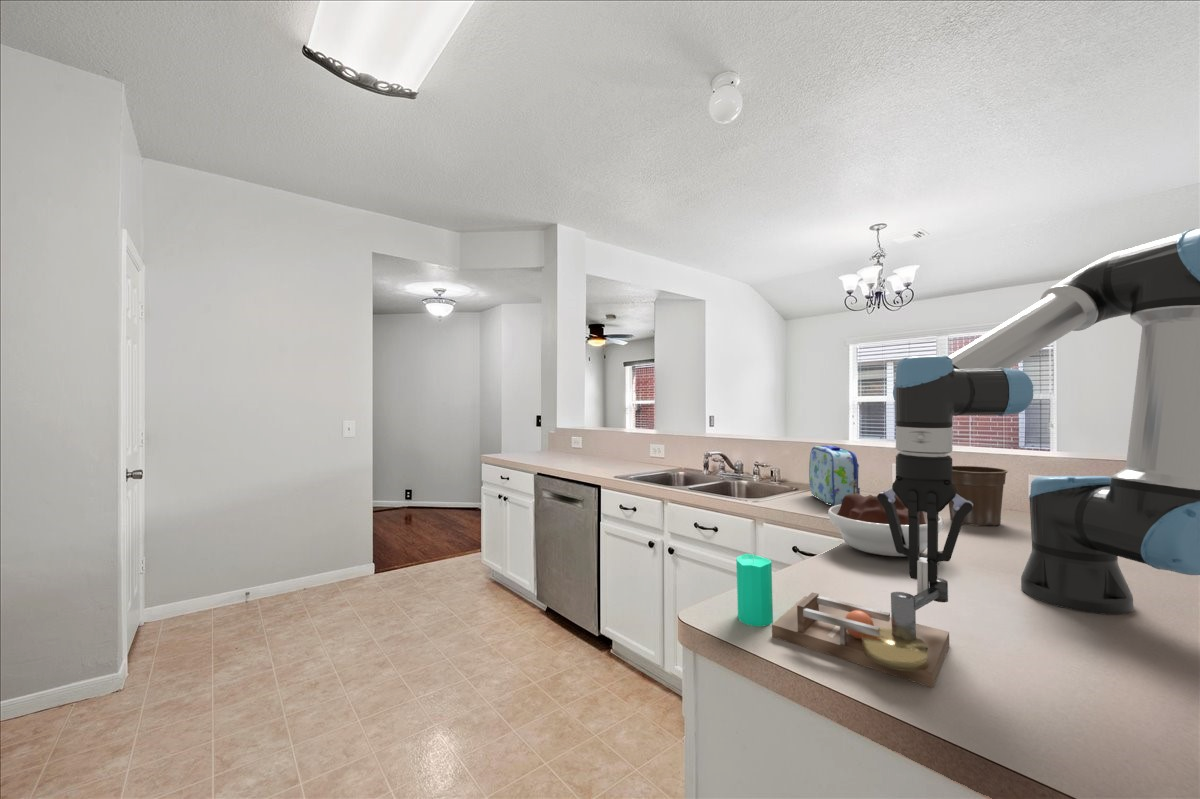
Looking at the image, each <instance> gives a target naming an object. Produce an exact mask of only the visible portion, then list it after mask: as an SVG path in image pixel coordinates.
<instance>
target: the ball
mask: <svg viewBox="0 0 1200 799" xmlns="http://www.w3.org/2000/svg"><path fill="white" fill-rule="evenodd" d="M845 619H849V620H853V621H857V622H861V623H864V624H868V625H872V626H874V624H873V621H872V619H871V618H870V617H869V615H867V614H866V613H864V612H862V611H858V610H855V611H851V612H849V613H848V614H847V615H846V617H845ZM846 629H847V628H846ZM847 631H848V632H849V633H850V634H851V635H852V636H853V637H855V638H858V639H862V632H858V631H854V630H851V629H847Z"/></svg>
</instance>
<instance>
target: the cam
mask: <svg viewBox="0 0 1200 799" xmlns="http://www.w3.org/2000/svg"><path fill="white" fill-rule="evenodd" d="M948 588H949V586H948V580H946V579H944V578H941V577H940V578H939V577H938V578H937V581H936V582H935V583H932V582H929V588H928V589H926V590H924V591H922V592H920V593H918V594H917V593H916V594H915V595H913V594H910V593H907V592H902V591H892V592H891V593H890V612H891V613H890V617H891V623H892V629H885V628H880V635H879V636H878V637H876V636H873V635H869V634H865V633H862V651H863V653H864V655H865V656H866V657H867V658H869V659H870V660H872V661H873V662H875V663H877V664H880V665H882V666H885V667H888V668H891V669H896V670H901V671H919V670H923V669H925V668H926V667H927V666H928V647H927V645H926V644H925V643H924V642H923V641H922V640H920V639H919V638H917V637H916V624H917V622H916V621H917V620H916V611H917V610H918V611H919V609H921V608H923V607H924V606H925V605H928V604H929V603H932V602H933V601H934V602H938V603H948V602H949V589H948Z"/></svg>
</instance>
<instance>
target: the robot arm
mask: <svg viewBox="0 0 1200 799" xmlns="http://www.w3.org/2000/svg"><path fill="white" fill-rule="evenodd" d="M1128 315H1130V316H1129V317H1130V319H1131V320H1132V321H1133V322H1135V323H1137V324H1139V325H1140V327H1141V334H1140V336H1141V337H1140V345H1139V353H1138V360H1137V369H1136V377H1135V384H1134V385H1135V387H1134V395H1133V402H1132V404H1133V405H1132V410H1131V411H1132V412H1131V421H1130V428H1129V429H1130V430H1129V437H1128V438H1129V439H1128V446H1127V452H1126V453H1127V454H1126V462H1125V467H1124V468H1123V469H1121V470H1120V471H1118V472H1117V473H1115V474H1112V475H1111V476H1107V475H1044V476H1037V477H1035V478H1033V480H1032V481H1030V482H1031V483H1030V491H1029V492H1030V494H1029V496H1028V498H1029V510H1030V511H1029V513H1030V532H1031V533H1030V534H1031V552H1030V554H1029V557H1028V559H1027V561H1026V564H1025V567H1024V568H1023V571H1022V573H1021V577H1020V583H1021V584H1020V588H1021V590H1022V592H1024V593H1025V594H1026V595H1028V596H1030V597H1032V598H1034V599H1036V600H1038V601H1041V602H1044V603H1046V604H1050V605H1053V606H1057V607H1061V608H1065V609H1069V610H1072V611H1073V610H1074V611H1078V612H1079V611H1080V612H1085V613H1091V614H1092V613H1093V614H1099V615H1100V614H1101V615H1102V614H1103V615H1124V614H1129V613H1131V612H1133V610H1134V597H1133V594H1132V592H1131V590H1130V587H1129V584H1128V583H1127V581H1126V579H1125V576H1124V574H1123V571H1122V570H1121V568H1120V566H1119V560H1118V557H1120V558H1123V559H1127V560H1129V561H1134V562H1138V563H1139V564H1140V563H1141V564H1144V565H1148V566H1149V567H1151V568H1153V569H1157V570H1163V571H1169V572H1172V573H1176V574H1182V575H1187V576H1200V228H1193V229H1188V230H1185V231H1184V232H1182V233H1178V234H1175V235H1172V236H1171V235H1170V236H1168V237H1164V238H1161V239H1157V240H1153V241H1150V242H1147V243H1143V244H1139V245H1136V246H1133V247H1128V248H1124V249H1122V250H1121V249H1120V250H1118V251H1115V252H1112V253H1110V254H1109V253H1108V254H1107V255H1105V256H1103V257H1102V258H1099V259H1097V260H1095V261H1093V262H1091V263H1089V264H1088V265H1086V266H1084V267H1082V268H1081V269H1080V270H1078V271H1076V272H1074V273H1072V274H1071V275H1069V276H1067V277H1066V278H1064V279H1063V280H1061V281H1059V282H1057V283H1056V284H1054V285H1053V286H1051V287H1049V288H1048V289H1046V290H1045V291H1044V292H1043V293H1042V294H1041V297H1040V300H1039V301H1037V302H1035V303H1034V304H1032V305H1031V306H1029V307H1028V308H1025V309H1024V310H1022V311H1021V312H1019V313H1018V314H1016V315H1014V316H1013V317H1011V318H1009V319H1008V320H1006V321H1005V322H1003V323H1001V324H1000V325H998V326H996V327H995V328H993V329H992V330H989V331H988V332H987V333H985V334H983V335H981V336H979V337H978V338H977V339H975V340H974V341H973V340H972V342H970V343H969V344H967V345H965V346H964V347H962V348H960V349H959V350H956V351H955V352H954V353H952V354H950V355H920V356H919V355H918V356H907V357H903V358H901V359H899V361H897V363H896V368H895V369H896V370H895V380H894V381H895V382H894V386H893V390H892V396H893V400H894V402H895V449H896V450H897V451H899V452H898V453H896V455H895V479H894V481H893V483H892V484H891V485H892V486H891V488H889V489H887V490H884V491H881V492H879V493H877V495H876V496H877V498H878V500H879V501H880V503H881V504H882V505H883V507H884V509H885V512H886V516H887V519H888V523H889V527H890V530H891V534H892V537H893V541H894V545H895V548H896V551H897V552H898V553H900V554H904V555H906V556H905V557H907V558H908V561H909V562H908V564H909V565H908V570H909V572H908V576H909V578H910V579H912V580H917V582H916V584H917V587H916V588H917V590H916V592H917V593H916V595H917V594H918V593H920V592H922V591H924V590H926V589H928V588H929V582H932V583H935V582H936V581H937V578H939V577H938V572H939V571H938V570H939V568H938V566H939V565H938V564H939V563H941V562H951V558H952V555H953V553H954V550H955V546H956V544H957V541H958V537H959V534H960V531H961V529H962V526H963V523H962V522H963V519H964V517H965V516H966V515H967V514H968V513H969V512H970V511H971V510H972V508H973V502H972V501H970V500H965V499H964V498H962V497H961V496H959V495H958V494H956V489H955V487H954V486H953V483H952V466H953V458H952V457H951V455H948V454H950V453H952V452H953V421H954V420H953V419H954V416H955V417H957V416H999V417H1003V416H1005V415H1006V416H1007V415H1008V416H1009V415H1018V414H1020V413H1023V412H1024V411H1025V410H1027V408H1029V406H1031V403H1032V402H1033V399H1034V384H1033V382H1032V380H1031V378H1030V377H1029V375H1028V374H1027V373H1026V372H1024V371H1022V370H1020V369H1017V368H1013V367H1014V366H1016V365H1018V364H1019V363H1021V362H1023V361H1024V360H1026V359H1028V358H1030V357H1032V355H1035V354H1036V353H1037V352H1039V351H1041V350H1043V349H1044V348H1046V347H1048V346H1049V345H1051V344H1052V343H1054V342H1056V341H1057V340H1060V339H1061V338H1062V337H1064V336H1065V335H1068V334H1069V333H1071V332H1079V331H1083V330H1086V329H1089V328H1090V327H1092V326H1094V325H1095V324H1097V323H1099V322H1102V321H1105V320H1108V319H1113V318H1117V317H1122V316H1128ZM895 494H896V495H897V496H898V498H899V499H900V500H901V502H902V503H903V504H904V505H905V507H906V508H908V517H909V546H907V545H906V542H905V539H904V535H903V532H902V528H901V524H900V521H899V517H898V514H897V510H896V507H895V504H894V502H895V500H896V498H895ZM951 500H953V501H954V505H953V508H954V510H956V512H955V515H954V518H953V520H951V521H952V522H951V524H950V527H949V531H948V534H947V537H946V540H945V544H944V547H943V548H942V550H939V534H938V515H939V513H940V512H942V511H943V509H945V508H946V507H947V506H948V505H949V502H950V501H951ZM920 511H923V512H926V513H927V548H926V550H927V551H926V552H927V553H926V557H923V556H920V554H921V553H920V530H919V515H920Z"/></svg>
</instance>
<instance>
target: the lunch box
mask: <svg viewBox="0 0 1200 799" xmlns="http://www.w3.org/2000/svg"><path fill="white" fill-rule="evenodd" d="M810 450H811V451H810V454H809V462H808V463H809V465H808V466H809V469H808V472H809V473H808V474H809V475H808V476H809V481H808V483H809V489H810V492H811V495H812V494H813V495H814V496H816V497H818V498H819V499H821V500H822V501H821V500H820V501H821V502H823V501H824V502H825V503H824V502H823V503H824V504H826V503H828V504H831V505H834V506H835V505H840V504H842V500H843V498H844V496H845V495H849V494H854V493H858V494H860V495H861V491H860V490H861V487H859V468H860V465H859V463H858V459H857V455H856V453H855V452H853V451H851V450H847V449H846V448H845V449H844V448H843V447H839V446H835V445H816V446H812V448H811V449H810ZM813 495H812V496H813ZM814 496H813V497H814ZM816 497H815V498H816ZM818 498H817V499H818ZM819 499H818V500H819Z"/></svg>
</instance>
